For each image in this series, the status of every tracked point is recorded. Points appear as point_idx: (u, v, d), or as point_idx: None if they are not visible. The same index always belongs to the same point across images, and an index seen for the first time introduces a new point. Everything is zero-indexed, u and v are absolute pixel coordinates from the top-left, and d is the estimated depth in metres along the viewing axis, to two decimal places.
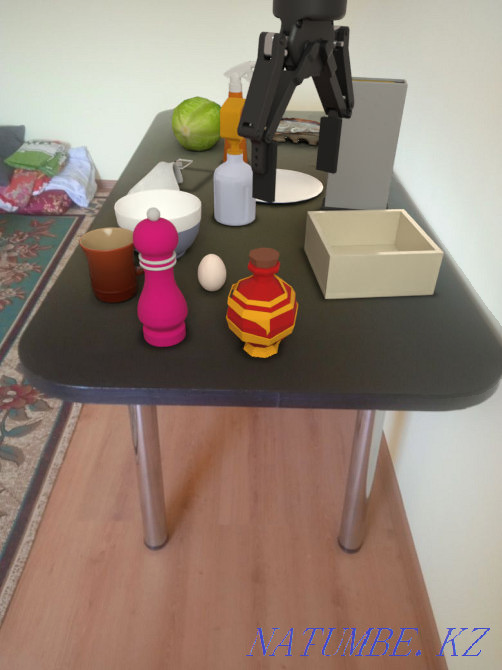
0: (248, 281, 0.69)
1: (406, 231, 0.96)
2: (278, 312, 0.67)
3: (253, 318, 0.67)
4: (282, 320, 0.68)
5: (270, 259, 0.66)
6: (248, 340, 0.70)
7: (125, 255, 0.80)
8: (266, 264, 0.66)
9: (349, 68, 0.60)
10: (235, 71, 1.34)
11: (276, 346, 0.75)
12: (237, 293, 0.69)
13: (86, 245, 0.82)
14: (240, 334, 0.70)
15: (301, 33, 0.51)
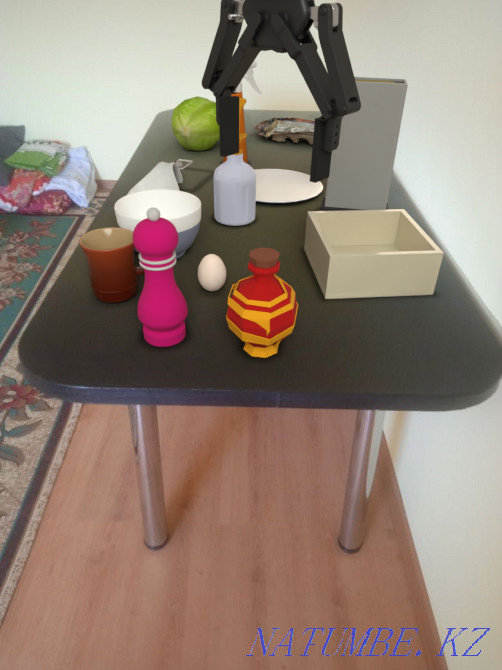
0: (249, 281, 0.69)
1: (406, 231, 0.96)
2: (278, 312, 0.67)
3: (253, 318, 0.67)
4: (282, 320, 0.68)
5: (270, 259, 0.66)
6: (248, 340, 0.70)
7: (125, 255, 0.80)
8: (266, 264, 0.66)
9: None
10: None
11: (276, 346, 0.75)
12: (237, 293, 0.69)
13: (86, 245, 0.82)
14: (240, 334, 0.70)
15: None
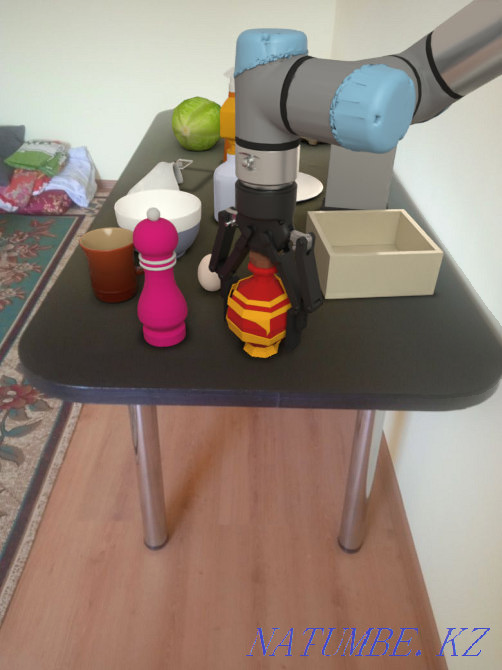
0: (249, 281, 0.69)
1: (406, 231, 0.96)
2: (278, 312, 0.67)
3: (253, 318, 0.67)
4: (282, 320, 0.68)
5: None
6: (248, 340, 0.70)
7: (125, 255, 0.80)
8: (266, 264, 0.66)
9: None
10: None
11: (276, 346, 0.75)
12: (237, 293, 0.69)
13: (86, 245, 0.82)
14: (240, 334, 0.70)
15: None
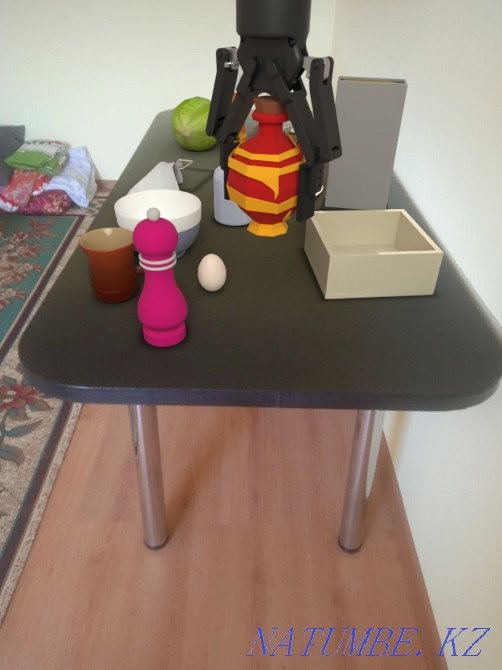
0: (253, 137, 0.59)
1: (406, 231, 0.96)
2: (288, 169, 0.57)
3: (259, 176, 0.56)
4: (293, 181, 0.58)
5: (279, 101, 0.55)
6: (253, 208, 0.59)
7: (125, 255, 0.80)
8: (274, 107, 0.55)
9: None
10: None
11: (285, 226, 0.64)
12: (239, 150, 0.58)
13: (86, 245, 0.82)
14: (243, 201, 0.59)
15: None
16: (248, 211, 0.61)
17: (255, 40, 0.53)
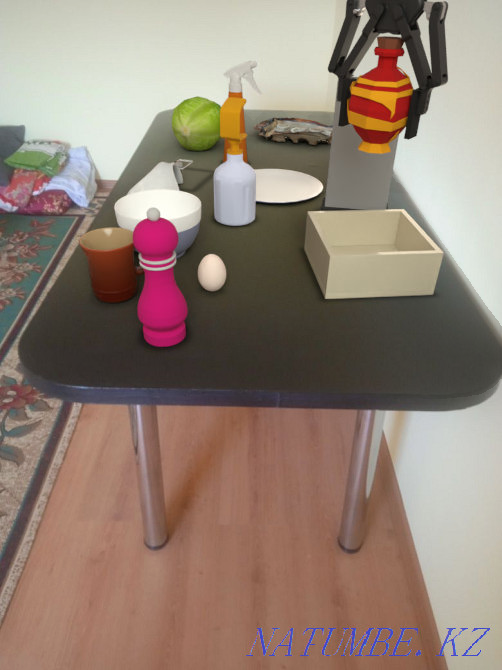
0: (372, 70, 0.74)
1: (406, 231, 0.96)
2: (403, 94, 0.72)
3: (380, 99, 0.72)
4: (405, 104, 0.73)
5: (399, 39, 0.70)
6: (371, 127, 0.74)
7: (125, 255, 0.80)
8: (395, 43, 0.70)
9: None
10: (235, 71, 1.34)
11: (389, 147, 0.80)
12: (362, 79, 0.73)
13: (86, 245, 0.82)
14: (364, 121, 0.74)
15: None
16: (364, 131, 0.76)
17: None
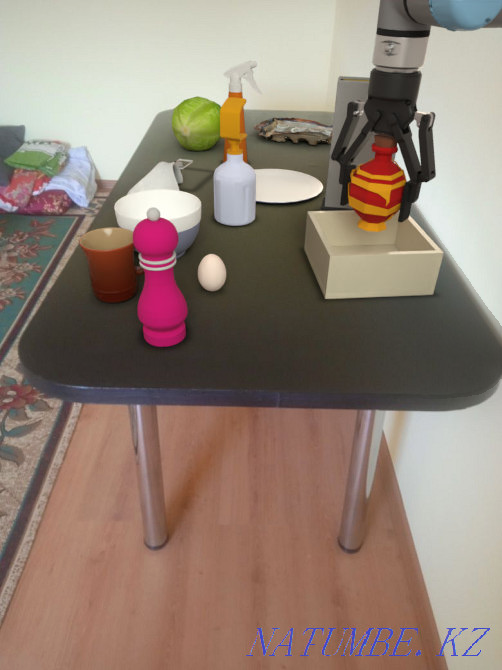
0: (370, 162, 0.84)
1: (406, 231, 0.96)
2: (397, 185, 0.82)
3: (376, 190, 0.82)
4: (398, 193, 0.83)
5: (393, 139, 0.81)
6: (369, 212, 0.85)
7: (125, 255, 0.80)
8: (389, 143, 0.81)
9: None
10: (235, 71, 1.34)
11: (385, 224, 0.90)
12: (361, 171, 0.84)
13: (86, 245, 0.82)
14: (362, 207, 0.85)
15: None
16: (363, 214, 0.86)
17: None
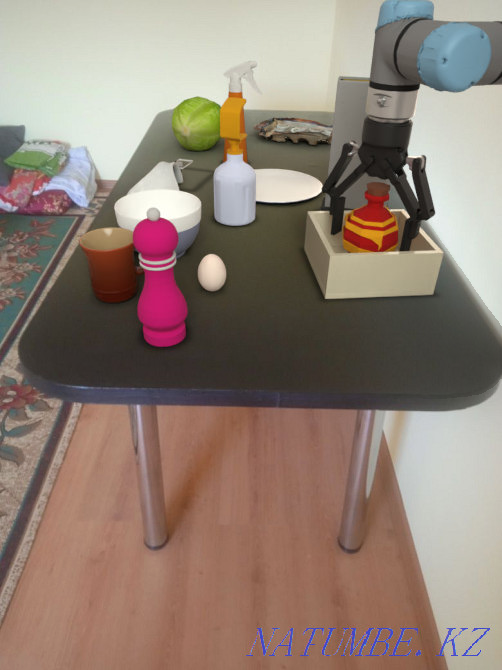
0: (363, 208, 0.89)
1: None
2: (388, 231, 0.87)
3: (369, 236, 0.87)
4: (390, 238, 0.88)
5: (384, 189, 0.85)
6: None
7: (125, 255, 0.80)
8: (381, 192, 0.85)
9: None
10: (235, 71, 1.34)
11: None
12: (355, 217, 0.88)
13: (86, 245, 0.82)
14: (356, 250, 0.89)
15: None
16: None
17: None
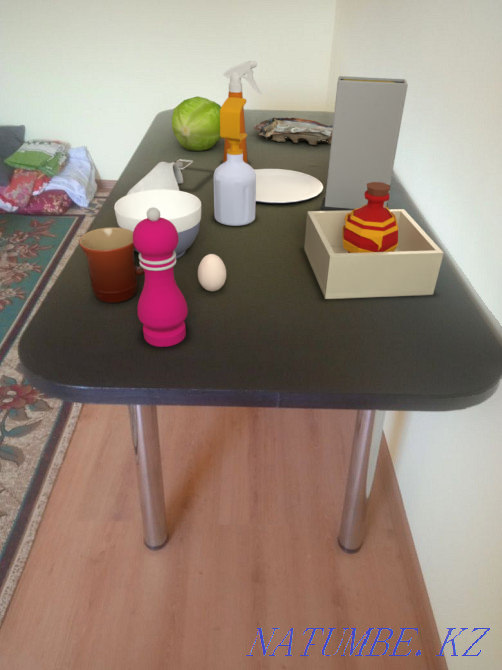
0: (363, 208, 0.89)
1: (406, 231, 0.96)
2: (388, 231, 0.87)
3: (369, 236, 0.87)
4: (390, 238, 0.88)
5: (384, 189, 0.85)
6: None
7: (125, 255, 0.80)
8: (381, 192, 0.85)
9: None
10: (235, 71, 1.34)
11: None
12: (355, 217, 0.88)
13: (86, 245, 0.82)
14: (356, 250, 0.89)
15: None
16: None
17: None
